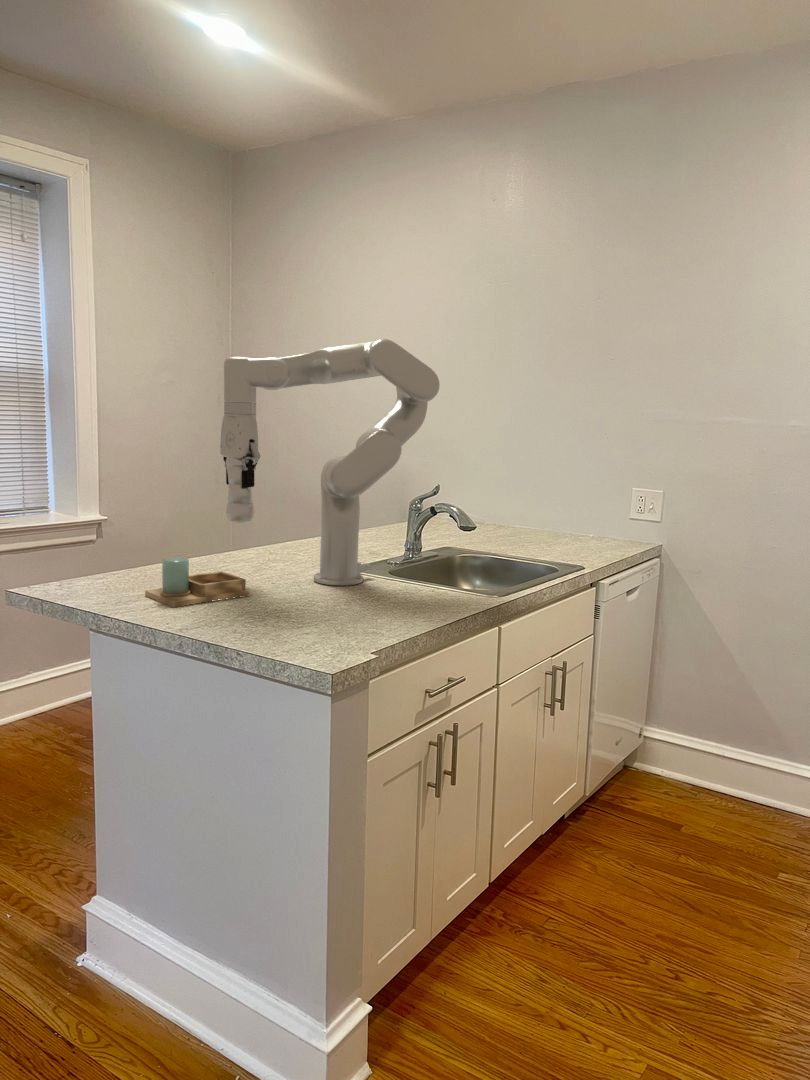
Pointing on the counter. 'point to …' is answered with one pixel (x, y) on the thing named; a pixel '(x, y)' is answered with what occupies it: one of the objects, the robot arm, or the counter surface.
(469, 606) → the counter surface
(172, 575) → the sage pillar candle
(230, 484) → the plastic bottle
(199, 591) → the oak caddy
